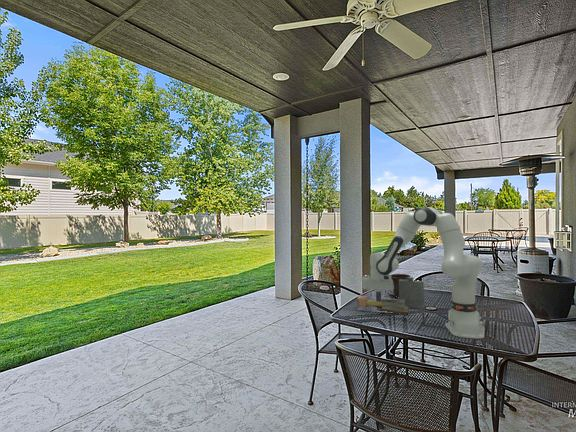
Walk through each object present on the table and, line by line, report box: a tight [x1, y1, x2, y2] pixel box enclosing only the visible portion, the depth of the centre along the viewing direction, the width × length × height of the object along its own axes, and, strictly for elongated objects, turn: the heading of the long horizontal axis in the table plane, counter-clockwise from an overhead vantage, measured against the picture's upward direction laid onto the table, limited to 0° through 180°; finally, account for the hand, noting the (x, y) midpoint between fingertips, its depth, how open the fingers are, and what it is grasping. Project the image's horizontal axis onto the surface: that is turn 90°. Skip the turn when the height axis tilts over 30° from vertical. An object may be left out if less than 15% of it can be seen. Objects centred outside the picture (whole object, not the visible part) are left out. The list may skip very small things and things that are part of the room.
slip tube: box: [366, 290, 382, 307], centre depth 208 cm, size 3×16×9 cm, turn 68°
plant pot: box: [390, 273, 411, 298], centre depth 233 cm, size 15×15×16 cm
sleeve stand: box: [373, 297, 409, 316], centre depth 206 cm, size 14×32×7 cm, turn 68°
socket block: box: [357, 295, 368, 307], centre depth 211 cm, size 6×6×6 cm
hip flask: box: [398, 276, 426, 309], centre depth 209 cm, size 16×4×20 cm, turn 57°
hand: (378, 296), depth 207 cm, fingers open, 8 cm apart
